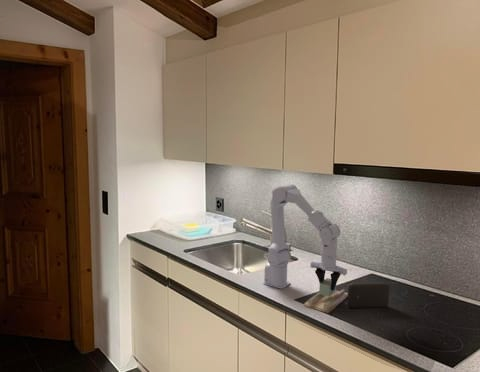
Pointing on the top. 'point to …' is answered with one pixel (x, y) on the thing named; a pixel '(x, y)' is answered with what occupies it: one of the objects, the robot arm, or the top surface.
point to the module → (326, 288)
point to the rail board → (326, 301)
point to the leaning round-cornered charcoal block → (368, 294)
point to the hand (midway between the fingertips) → (327, 288)
